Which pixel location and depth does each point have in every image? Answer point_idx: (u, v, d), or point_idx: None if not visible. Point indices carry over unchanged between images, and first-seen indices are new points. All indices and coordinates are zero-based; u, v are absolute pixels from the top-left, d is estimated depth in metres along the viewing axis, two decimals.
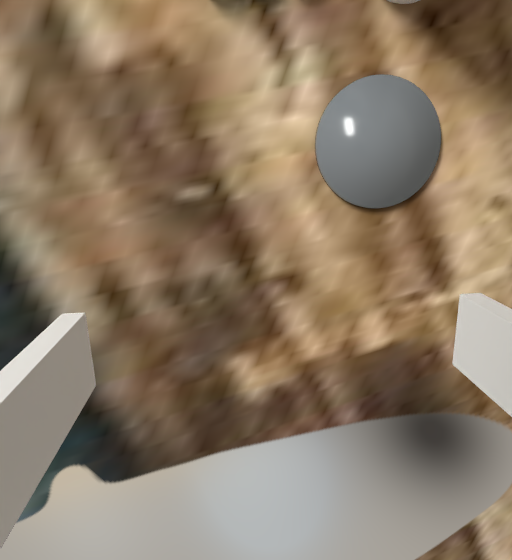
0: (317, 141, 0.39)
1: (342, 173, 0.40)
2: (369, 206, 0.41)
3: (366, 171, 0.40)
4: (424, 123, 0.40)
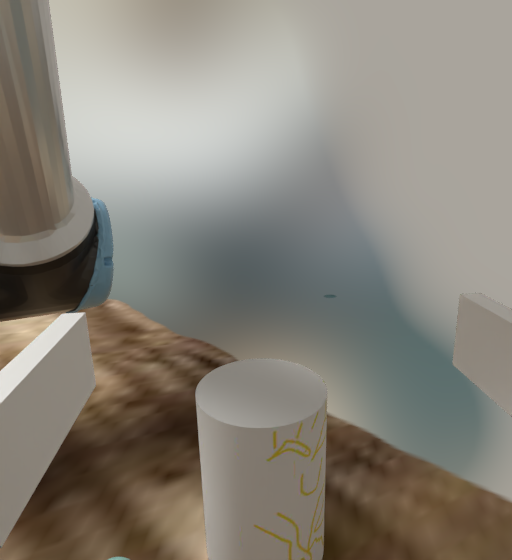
0: None
1: None
2: None
3: None
4: None
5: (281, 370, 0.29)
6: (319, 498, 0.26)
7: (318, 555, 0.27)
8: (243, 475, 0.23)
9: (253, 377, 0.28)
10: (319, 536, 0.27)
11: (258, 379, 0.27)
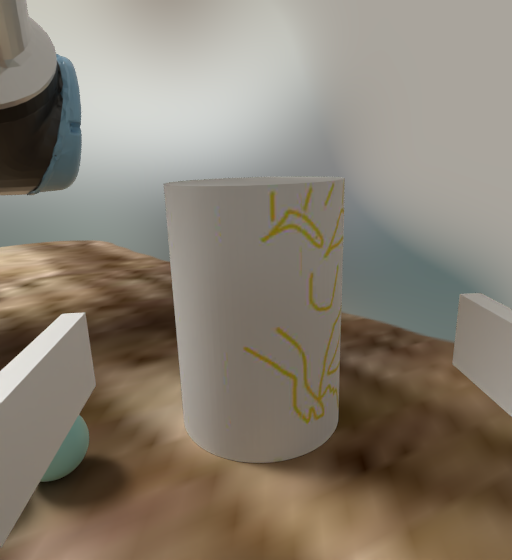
0: None
1: None
2: None
3: None
4: None
5: (281, 177, 0.22)
6: (333, 325, 0.19)
7: (332, 414, 0.20)
8: (227, 267, 0.16)
9: (244, 179, 0.21)
10: (334, 386, 0.20)
11: (250, 179, 0.20)
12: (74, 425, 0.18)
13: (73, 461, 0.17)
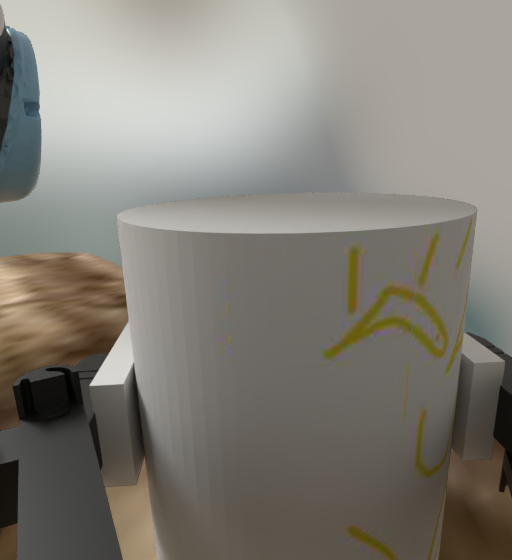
0: None
1: None
2: None
3: None
4: None
5: (330, 196, 0.13)
6: (445, 485, 0.10)
7: None
8: (245, 408, 0.07)
9: (269, 201, 0.12)
10: None
11: (281, 202, 0.11)
12: None
13: None
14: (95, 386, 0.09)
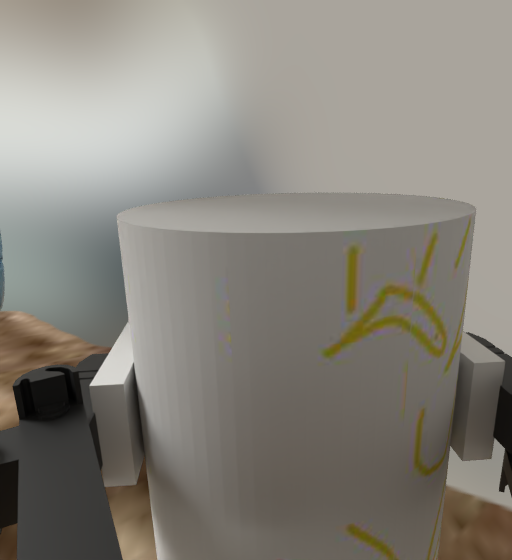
0: None
1: None
2: None
3: None
4: None
5: (330, 196, 0.13)
6: (444, 484, 0.10)
7: None
8: (245, 406, 0.07)
9: (268, 200, 0.12)
10: None
11: (280, 201, 0.11)
12: None
13: None
14: (95, 386, 0.09)
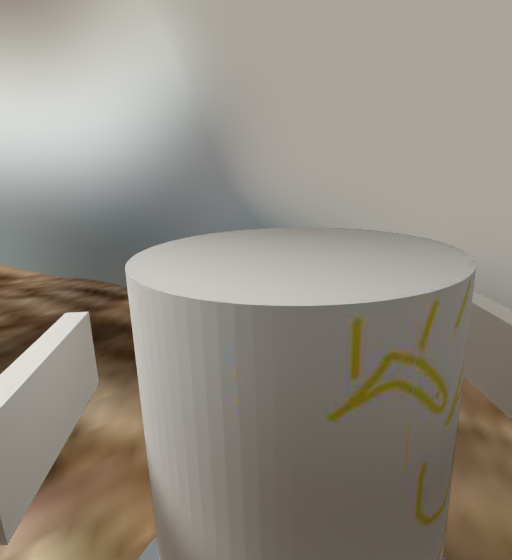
0: None
1: None
2: None
3: None
4: None
5: (332, 235, 0.13)
6: (444, 527, 0.10)
7: None
8: (251, 465, 0.08)
9: (272, 242, 0.12)
10: None
11: (284, 244, 0.12)
12: None
13: None
14: None
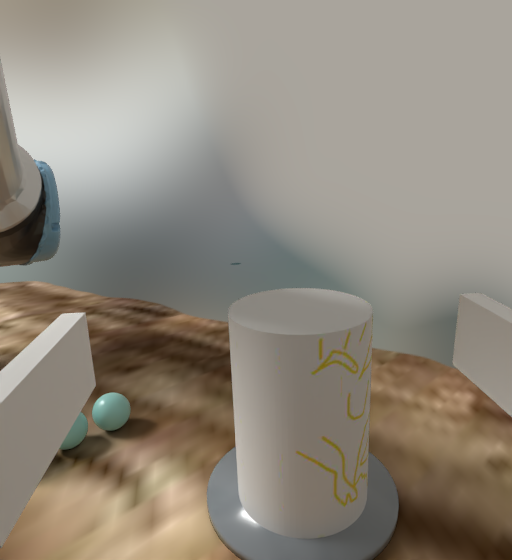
0: (217, 524, 0.24)
1: (281, 539, 0.23)
2: (359, 555, 0.22)
3: None
4: None
5: (318, 295, 0.26)
6: (365, 426, 0.23)
7: (363, 495, 0.25)
8: (284, 391, 0.21)
9: (289, 300, 0.25)
10: (364, 472, 0.24)
11: (294, 302, 0.25)
12: (125, 399, 0.35)
13: (127, 417, 0.35)
14: None
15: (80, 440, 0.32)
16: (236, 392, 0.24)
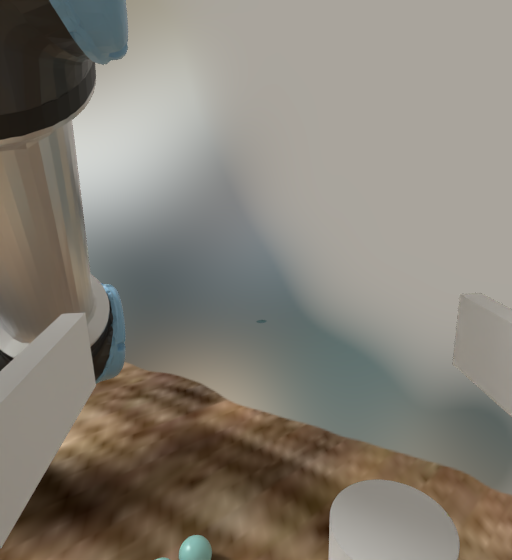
0: None
1: None
2: None
3: None
4: None
5: (401, 497, 0.30)
6: None
7: None
8: None
9: (379, 508, 0.29)
10: None
11: (384, 510, 0.29)
12: (207, 544, 0.39)
13: None
14: None
15: None
16: None
